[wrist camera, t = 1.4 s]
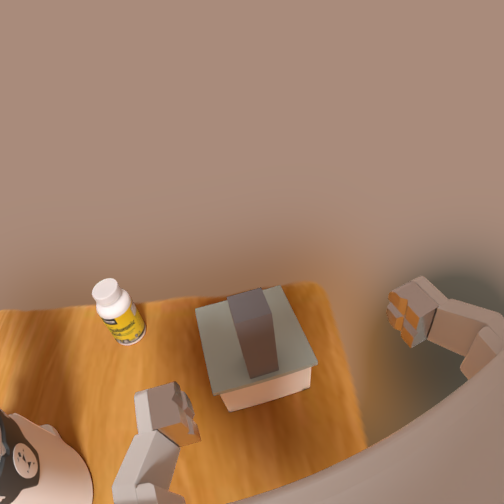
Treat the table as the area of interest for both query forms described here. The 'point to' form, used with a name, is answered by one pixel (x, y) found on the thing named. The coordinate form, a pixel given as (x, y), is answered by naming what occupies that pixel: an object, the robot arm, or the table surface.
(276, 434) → the table surface
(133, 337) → the supplement bottle
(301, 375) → the carton
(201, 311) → the carton lid
